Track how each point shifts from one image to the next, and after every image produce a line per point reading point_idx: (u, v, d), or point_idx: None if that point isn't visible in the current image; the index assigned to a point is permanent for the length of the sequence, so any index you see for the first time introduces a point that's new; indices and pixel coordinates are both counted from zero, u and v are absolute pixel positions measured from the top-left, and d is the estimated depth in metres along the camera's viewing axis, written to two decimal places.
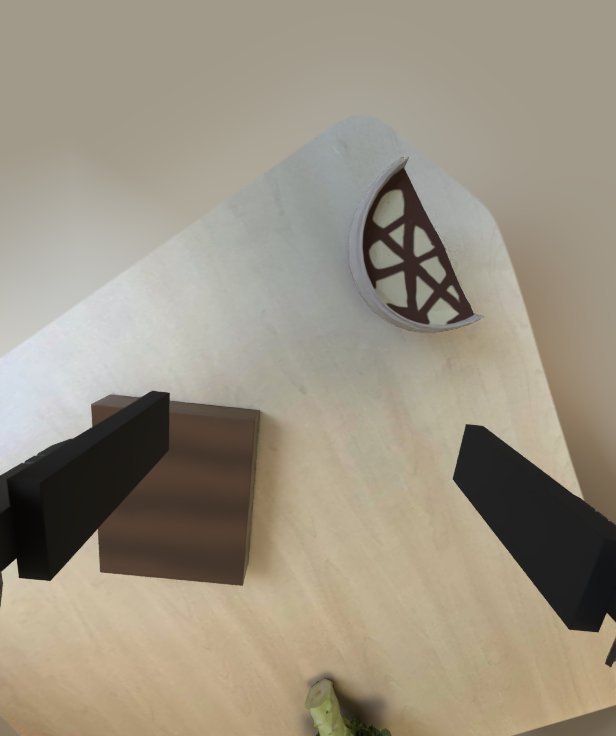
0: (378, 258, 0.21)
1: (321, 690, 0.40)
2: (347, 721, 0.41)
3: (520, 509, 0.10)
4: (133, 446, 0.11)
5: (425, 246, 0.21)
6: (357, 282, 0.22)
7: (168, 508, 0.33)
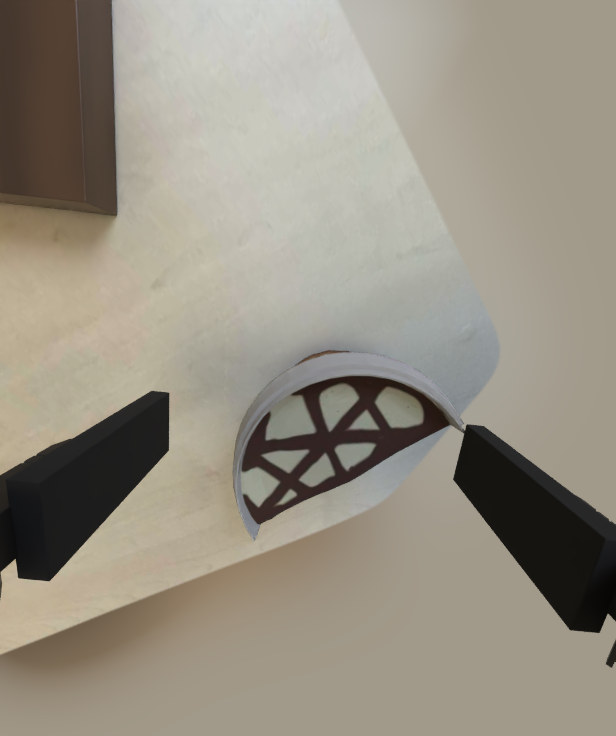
0: (334, 396, 0.14)
1: None
2: None
3: (521, 509, 0.10)
4: (132, 446, 0.11)
5: (348, 458, 0.15)
6: (301, 367, 0.15)
7: None
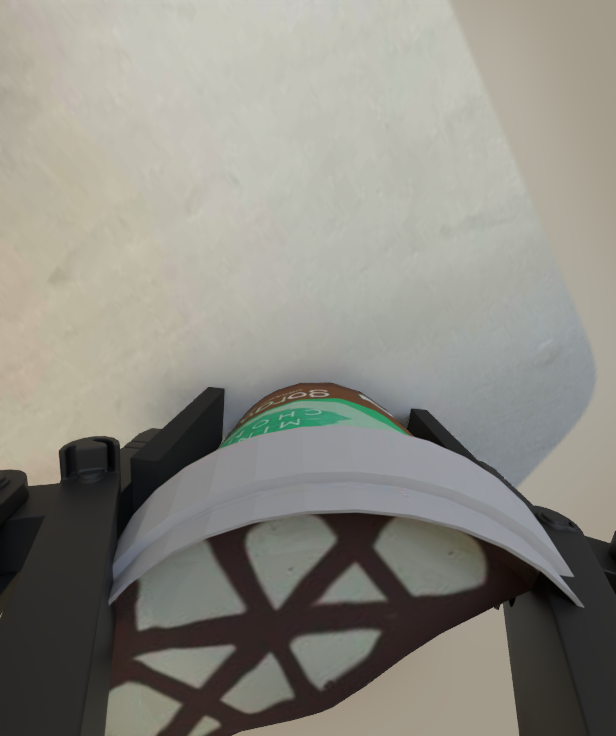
0: (278, 538, 0.06)
1: None
2: None
3: None
4: (203, 435, 0.12)
5: (322, 665, 0.07)
6: (206, 467, 0.07)
7: None
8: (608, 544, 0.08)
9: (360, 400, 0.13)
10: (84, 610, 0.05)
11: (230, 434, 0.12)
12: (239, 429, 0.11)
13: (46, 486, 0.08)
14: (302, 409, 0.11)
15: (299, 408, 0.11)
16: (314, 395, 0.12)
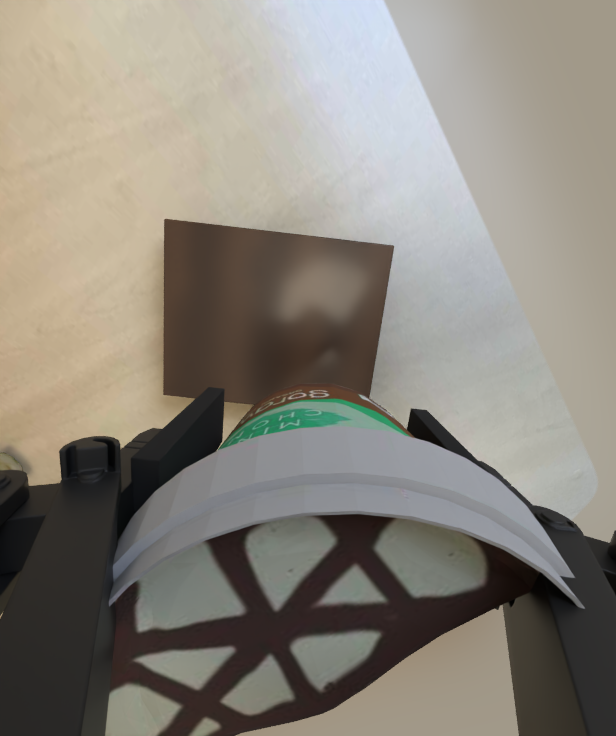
0: (278, 539, 0.06)
1: None
2: None
3: None
4: (204, 435, 0.12)
5: (322, 666, 0.07)
6: (206, 468, 0.07)
7: (263, 319, 0.28)
8: (608, 544, 0.08)
9: (360, 400, 0.13)
10: (85, 609, 0.05)
11: (230, 435, 0.12)
12: (239, 430, 0.11)
13: (47, 486, 0.08)
14: (302, 410, 0.11)
15: (299, 409, 0.11)
16: (314, 395, 0.12)
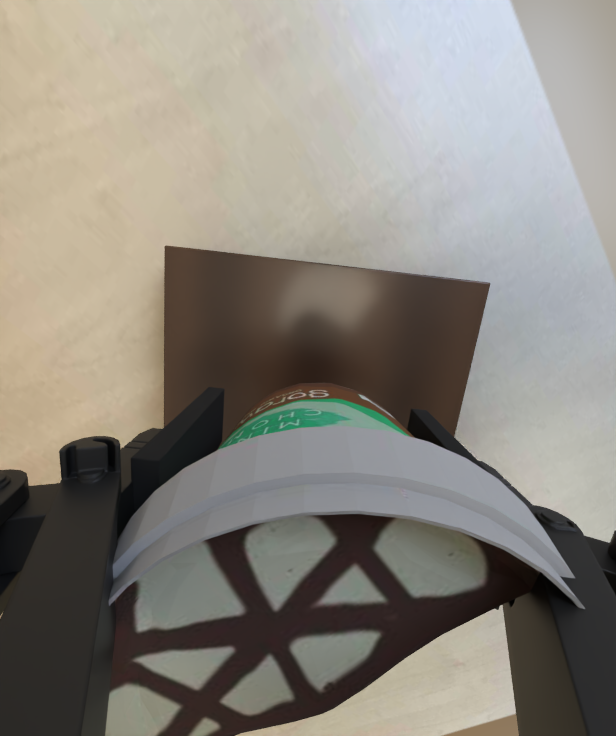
0: (278, 539, 0.06)
1: None
2: None
3: None
4: (204, 435, 0.12)
5: (322, 666, 0.07)
6: (205, 468, 0.07)
7: (302, 382, 0.21)
8: (607, 544, 0.08)
9: (360, 400, 0.13)
10: (85, 609, 0.05)
11: (230, 434, 0.12)
12: (239, 429, 0.11)
13: (46, 486, 0.08)
14: (302, 409, 0.11)
15: (299, 408, 0.11)
16: (314, 395, 0.12)
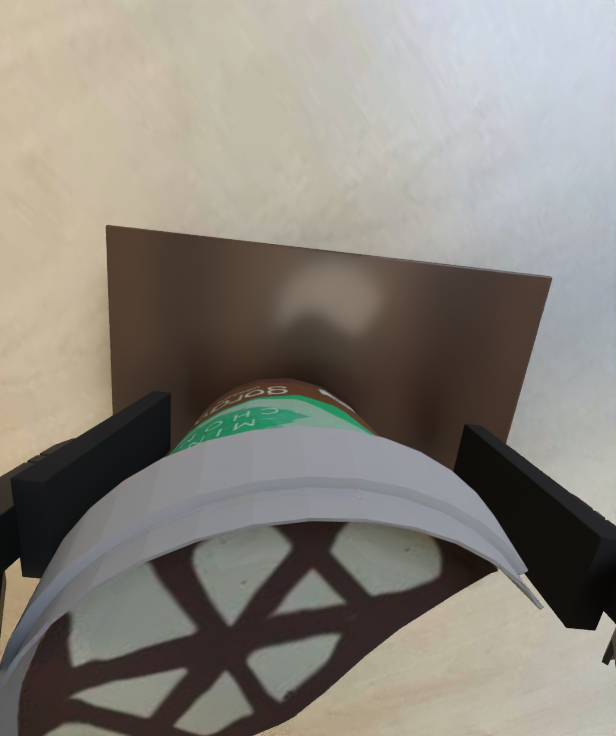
0: (229, 551, 0.06)
1: None
2: None
3: (518, 508, 0.10)
4: (135, 446, 0.11)
5: (281, 676, 0.06)
6: (146, 480, 0.06)
7: None
8: None
9: (320, 395, 0.13)
10: None
11: (183, 437, 0.12)
12: (192, 432, 0.11)
13: None
14: (258, 408, 0.10)
15: (255, 407, 0.10)
16: (272, 392, 0.12)
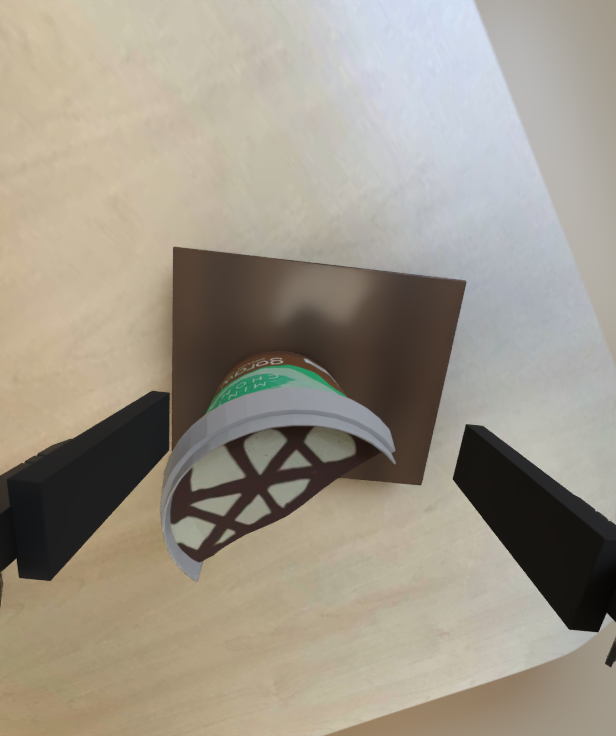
0: (259, 442, 0.13)
1: None
2: None
3: (520, 509, 0.10)
4: (133, 446, 0.11)
5: (283, 496, 0.14)
6: (220, 412, 0.13)
7: None
8: None
9: (304, 364, 0.20)
10: None
11: (219, 391, 0.19)
12: (226, 388, 0.18)
13: None
14: (266, 374, 0.17)
15: (264, 374, 0.17)
16: (273, 363, 0.19)
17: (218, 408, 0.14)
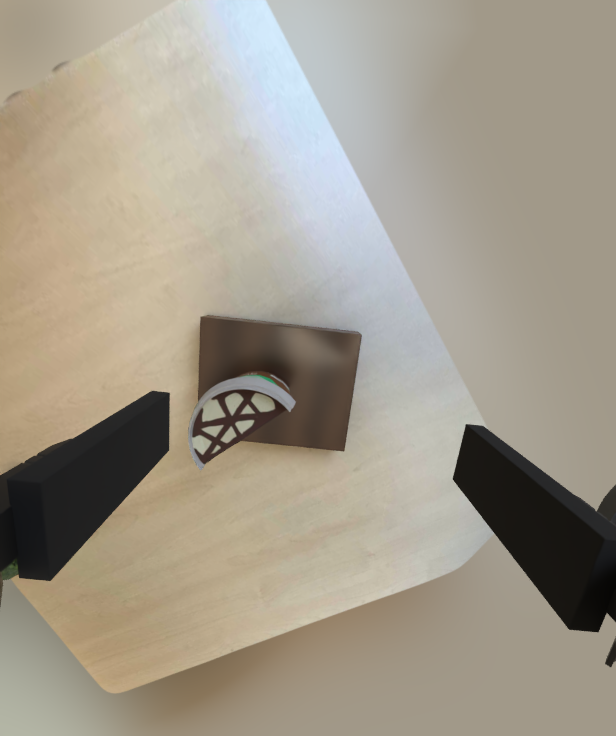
0: (231, 399, 0.31)
1: None
2: None
3: (520, 509, 0.10)
4: (133, 446, 0.11)
5: (242, 427, 0.31)
6: (216, 386, 0.31)
7: None
8: None
9: (268, 376, 0.37)
10: None
11: None
12: None
13: None
14: None
15: (244, 377, 0.35)
16: (251, 374, 0.37)
17: (216, 385, 0.32)
